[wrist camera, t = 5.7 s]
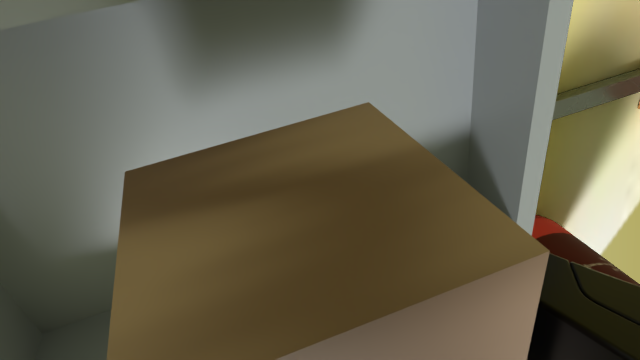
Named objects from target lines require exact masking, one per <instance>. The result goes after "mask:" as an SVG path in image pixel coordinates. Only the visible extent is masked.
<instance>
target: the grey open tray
mask: <svg viewBox="0 0 640 360" xmlns="http://www.w3.org/2000/svg"><path fill="white" fill-rule="evenodd" d="M572 6H573V0H0V360H107V350H108V340H109V330H110V319H111V309H112V299H113V289H114V278H115V268H116V258H117V247H118V237H119V227H120V217H121V206H122V196H123V186H124V175H125V171H129V170H132V169H136V168H139V167H143V166H146V165H150V164H153V163H157V162H160V161H164V160H167V159H171V158H174V157H178V156H181V155H185V154H188V153H192V152H195V151H199V150H203V149H206V148H210V147H213V146H217V145H220V144H224V143H227V142H231V141H234V140H238V139H241V138H245V137H248V136H252V135H255V134H259V133H262V132H266V131H269V130H273V129H276V128H280V127H283V126H287V125H290V124H294V123H297V122H301V121H304V120H308V119H311V118H315V117H318V116H322V115H325V114H329V113H332V112H336V111H339V110H343V109H346V108H350V107H353V106H357V105H360V104H364V103H367V102H369V103H371V104H372V105H373V106H374V107H376V108H377V109H378V110H379V111H380V112H382V113H383V114H384V115H385V116H386V117H388V118H389V119H390V120H391V121H393V122H394V123H395V124H396V125H397V126H399V127H400V128H401V129H402V130H403V131H405V132H406V133H407V134H408V135H410V136H411V137H412V138H413V139H414V140H416V141H417V142H418V143H419V144H421V145H422V146H423V147H424V148H425V149H427V150H428V151H429V152H430V153H431V154H433V155H434V156H435V157H436V158H438V159H439V160H440V161H441V162H442V163H444V164H445V165H446V166H447V167H448V168H450V169H451V170H452V171H453V172H455V173H456V174H457V175H458V176H459V177H461V178H462V179H463V180H464V181H465V182H467V183H468V184H469V185H470V186H472V187H473V188H474V189H475V190H476V191H478V192H479V193H480V194H481V195H482V196H484V197H485V198H486V199H487V200H489V201H490V202H491V203H492V204H493V205H495V206H496V207H497V208H498V209H499V210H501V211H502V212H503V213H504V214H506V215H507V216H508V217H509V218H510V219H512V220H513V221H514V222H515V223H517V224H518V225H519V226H520V227H521V228H523V229H524V230H525V231H526V232H527V233H529V234H530V235H531V236H532V231H533V226H534V220H535V214H536V209H537V203H538V197H539V192H540V186H541V181H542V175H543V169H544V164H545V158H546V152H547V147H548V141H549V136H550V130H551V124H552V119H553V113H554V107H555V102H556V96H557V90H558V85H559V79H560V74H561V68H562V62H563V57H564V51H565V45H566V40H567V34H568V28H569V23H570V17H571V12H572Z"/></svg>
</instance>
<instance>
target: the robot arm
mask: <svg viewBox="0 0 640 360" xmlns="http://www.w3.org/2000/svg"><path fill="white" fill-rule="evenodd" d="M527 360H640V286H638V285H635V284H632V283H629V282H626V281H623V280H620V279H617V278H615V277H612V276H609V275H606V274H604V273H601V272H598V271H595V270H593V269H590V268H587V267H585V266H582V265H580V264H577V263H574V262H570V263H569V261H568V260H566V259H564V258H561V257H558V256H556V255H553V254H551V253H549V257H548V262H547V267H546V271H545V276H544V281H543V285H542V290H541V295H540V300H539V304H538V309H537V314H536V318H535V323H534V328H533V333H532V337H531V342H530V347H529V351H528V356H527Z"/></svg>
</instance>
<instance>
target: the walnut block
mask: <svg viewBox="0 0 640 360" xmlns="http://www.w3.org/2000/svg"><path fill="white" fill-rule="evenodd" d="M549 252H550V251H549V250H548V249H547V248H546V247H544V246H543V245H542V244H541V243H540V242H538V241H537V240H536V239H535V238H534V237H532V236H531V235H530V234H529V233H527V232H526V231H525V230H524V229H523V228H521V227H520V226H519V225H518V224H517V223H515V222H514V221H513V220H512V219H510V218H509V217H508V216H507V215H506V214H504V213H503V212H502V211H501V210H499V209H498V208H497V207H496V206H495V205H493V204H492V203H491V202H490V201H489V200H487V199H486V198H485V197H484V196H482V195H481V194H480V193H479V192H478V191H476V190H475V189H474V188H473V187H472V186H470V185H469V184H468V183H467V182H465V181H464V180H463V179H462V178H461V177H459V176H458V175H457V174H456V173H455V172H453V171H452V170H451V169H450V168H448V167H447V166H446V165H445V164H444V163H442V162H441V161H440V160H439V159H438V158H436V157H435V156H434V155H433V154H431V153H430V152H429V151H428V150H427V149H425V148H424V147H423V146H422V145H421V144H419V143H418V142H417V141H416V140H414V139H413V138H412V137H411V136H410V135H408V134H407V133H406V132H405V131H403V130H402V129H401V128H400V127H399V126H397V125H396V124H395V123H394V122H393V121H391V120H390V119H389V118H388V117H386V116H385V115H384V114H383V113H382V112H380V111H379V110H378V109H377V108H376V107H374V106H373V105H372V104H371V103H369V102H367V103H364V104H360V105H357V106H353V107H350V108H346V109H343V110H339V111H336V112H332V113H329V114H325V115H322V116H318V117H315V118H311V119H308V120H304V121H301V122H297V123H294V124H290V125H287V126H283V127H280V128H276V129H273V130H269V131H266V132H262V133H259V134H255V135H252V136H248V137H245V138H241V139H238V140H234V141H231V142H227V143H224V144H220V145H217V146H213V147H210V148H206V149H203V150H199V151H195V152H192V153H188V154H185V155H181V156H178V157H174V158H171V159H167V160H164V161H160V162H157V163H153V164H150V165H146V166H143V167H139V168H136V169H132V170H129V171H125V175H124V186H123V196H122V206H121V217H120V227H119V237H118V247H117V258H116V268H115V278H114V289H113V299H112V309H111V319H110V330H109V340H108V350H107V360H527V356H528V351H529V347H530V342H531V337H532V333H533V328H534V323H535V318H536V314H537V309H538V304H539V300H540V295H541V290H542V285H543V281H544V276H545V271H546V267H547V262H548V257H549Z"/></svg>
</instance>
